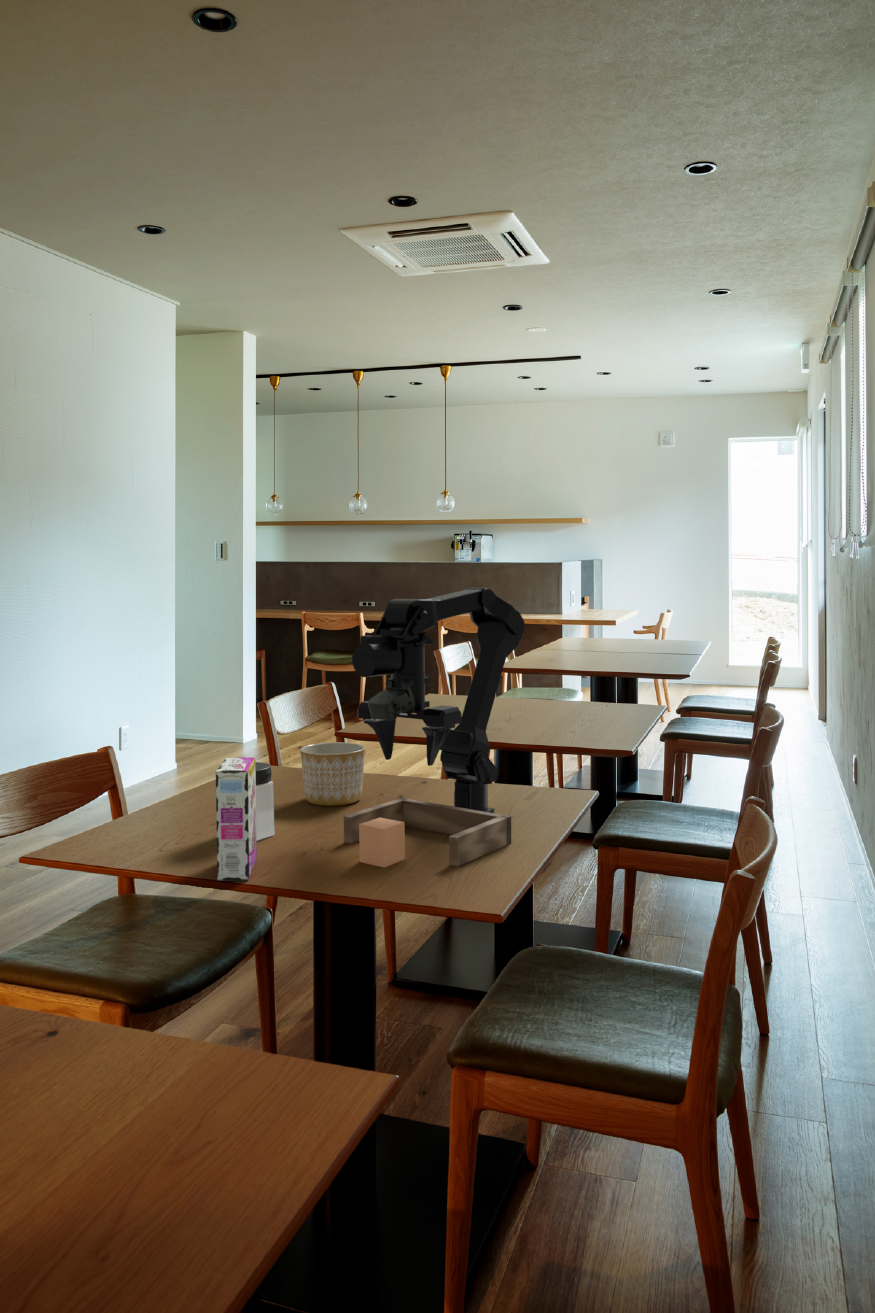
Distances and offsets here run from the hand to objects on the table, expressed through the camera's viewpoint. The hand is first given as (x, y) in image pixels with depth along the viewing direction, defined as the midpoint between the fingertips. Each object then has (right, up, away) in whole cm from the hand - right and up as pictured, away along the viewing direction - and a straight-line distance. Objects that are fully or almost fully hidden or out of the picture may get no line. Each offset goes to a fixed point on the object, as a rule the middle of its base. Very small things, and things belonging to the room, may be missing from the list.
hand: (409, 762), depth 166 cm
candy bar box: (-25, -14, -20) cm, 35 cm away
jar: (-27, -13, -1) cm, 30 cm away
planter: (-16, -10, +24) cm, 30 cm away
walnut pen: (+3, -13, -7) cm, 15 cm away
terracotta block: (-4, -14, -16) cm, 21 cm away
